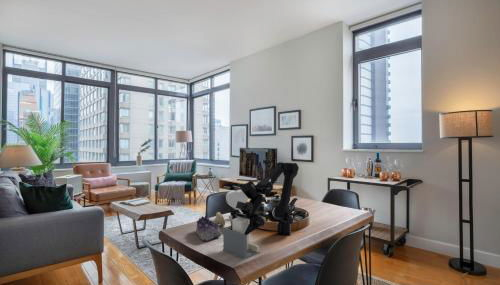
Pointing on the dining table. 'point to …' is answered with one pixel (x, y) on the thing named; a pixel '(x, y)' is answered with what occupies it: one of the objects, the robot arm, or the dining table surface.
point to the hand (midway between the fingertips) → (237, 233)
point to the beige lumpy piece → (219, 219)
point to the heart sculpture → (235, 198)
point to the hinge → (230, 218)
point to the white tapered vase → (240, 227)
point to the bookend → (238, 244)
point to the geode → (207, 229)
